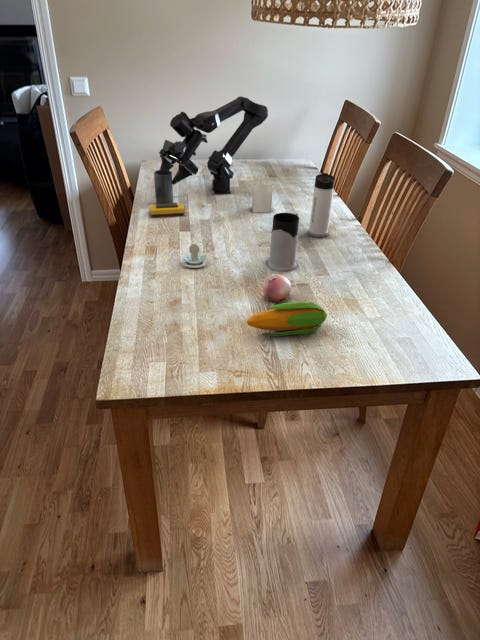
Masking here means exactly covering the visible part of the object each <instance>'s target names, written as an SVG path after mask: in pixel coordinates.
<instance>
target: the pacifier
mask: <svg viewBox="0 0 480 640" xmlns="http://www.w3.org/2000/svg"><path fill="white" fill-rule="evenodd" d="M188 251H189V253H190V255H187V254H182V255H181V257H182V260H183V261H184V263H183V266H184V267H185V268H189V269H199V268H204V267H205V266H206V263H205V261H206V259H207V254H202V255H199V252H200V246H199V245H198V244H197V243H192V244H190V245H189V247H188Z"/></svg>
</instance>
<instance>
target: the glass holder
mask: <svg viewBox="0 0 480 640" xmlns="http://www.w3.org/2000/svg"><path fill="white" fill-rule="evenodd" d="M272 216H273V217H272V228H271V232H270V233H271V236H270V237H271V238H270V249H269V259H268V261H267V265H268V267H269V268H271V269H272V270H275V271H279V272H289V271H292V270H294V269H295V268H297V265H298V264H297V261H296V259H297V251H298V250H297V249H298V241H299V226H300V217H299V214H298V212H296V211H295V212H293V213H291V212H278V213H275V214H274V215H272Z"/></svg>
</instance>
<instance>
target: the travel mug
mask: <svg viewBox="0 0 480 640" xmlns="http://www.w3.org/2000/svg"><path fill="white" fill-rule="evenodd" d="M335 181H336V177H335V176H333V175H332V174H329V173H328V172H322V173H319V174H317V175H316V176H315V180H314V185H313V186H314V188H313V195H312V204H311V213H310V221H309V229H308V234H309V235H310V236H312V237H314V238H324V237H327V236H328V232H329V227H330V226H329V225H330V219H331V217H330V216H331V211H332V204H333V196H334V189H335Z"/></svg>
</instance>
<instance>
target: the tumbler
mask: <svg viewBox="0 0 480 640" xmlns="http://www.w3.org/2000/svg"><path fill="white" fill-rule="evenodd" d="M153 179H154V180H153V181H154V193H155V204H164V203H174V189H173V188H174V187H173V184H172V183H171V182H172V180H173V172H172V171H171V170H160V169H158V170H155V171H154V172H153Z"/></svg>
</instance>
